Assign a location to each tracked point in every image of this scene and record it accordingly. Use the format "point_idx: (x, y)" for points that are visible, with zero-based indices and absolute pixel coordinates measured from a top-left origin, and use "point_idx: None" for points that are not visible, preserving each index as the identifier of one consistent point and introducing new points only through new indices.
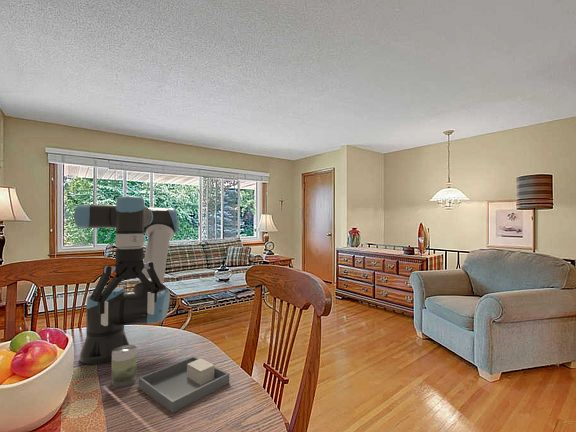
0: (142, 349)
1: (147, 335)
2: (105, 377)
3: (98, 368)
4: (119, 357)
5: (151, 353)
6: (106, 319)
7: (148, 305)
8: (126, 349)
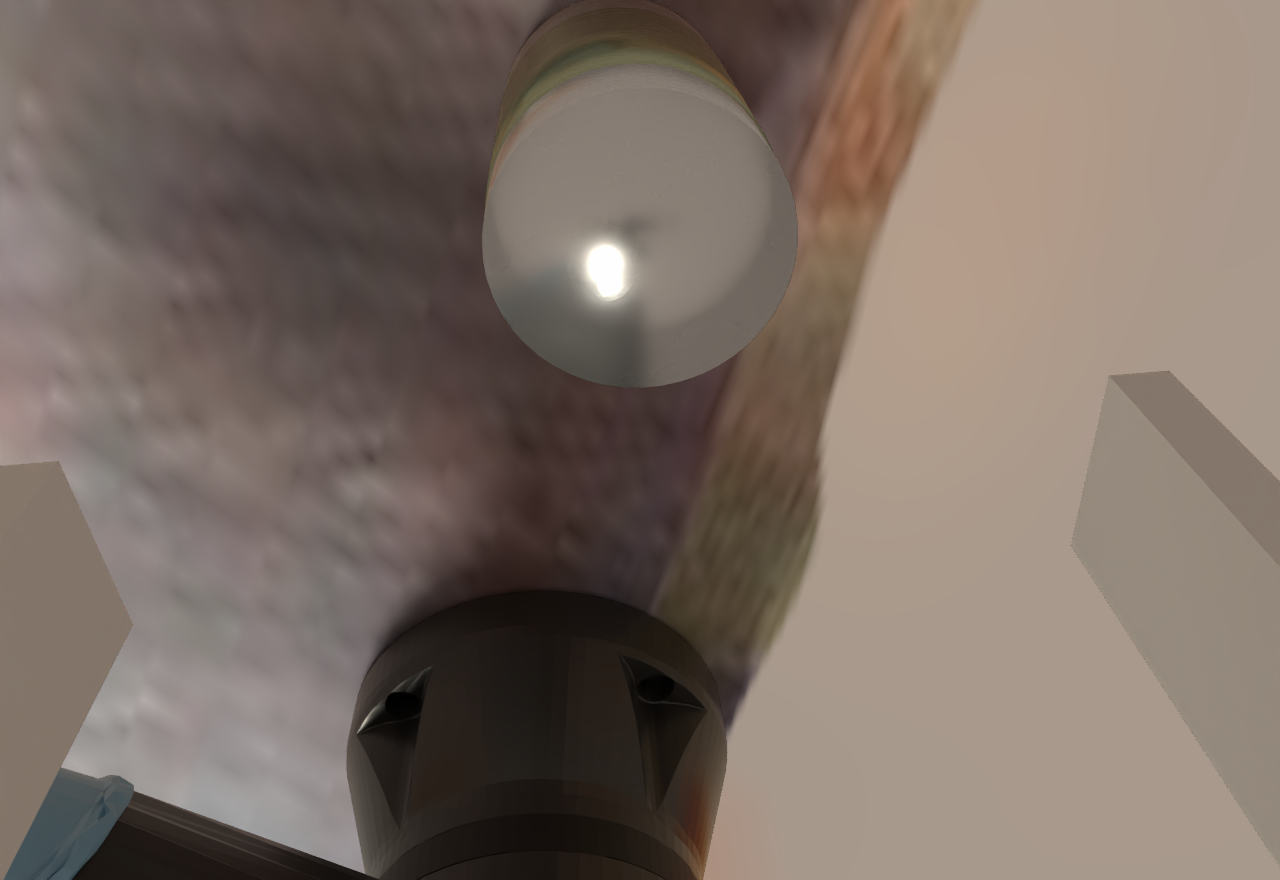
0: (249, 653)
1: None
2: None
3: (663, 555)
4: (749, 119)
5: (197, 532)
6: (1212, 454)
7: (34, 743)
8: (620, 228)
